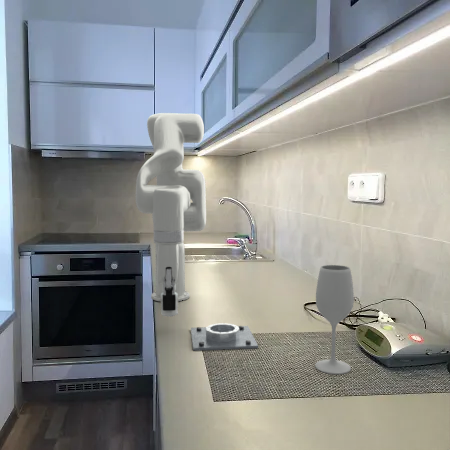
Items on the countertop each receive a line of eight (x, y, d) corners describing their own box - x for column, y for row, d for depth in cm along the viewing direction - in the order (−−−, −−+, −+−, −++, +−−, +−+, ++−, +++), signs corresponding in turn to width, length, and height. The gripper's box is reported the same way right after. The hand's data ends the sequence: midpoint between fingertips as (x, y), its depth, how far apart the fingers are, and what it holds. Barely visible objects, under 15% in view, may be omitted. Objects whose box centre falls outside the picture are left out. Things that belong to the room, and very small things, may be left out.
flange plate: (190, 329, 121) (190, 325, 120) (247, 328, 122) (247, 324, 122) (193, 350, 106) (193, 346, 106) (258, 348, 107) (258, 343, 107)
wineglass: (345, 360, 100) (348, 264, 98) (356, 374, 93) (359, 271, 91) (310, 360, 100) (312, 264, 98) (319, 374, 92) (321, 271, 91)
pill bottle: (169, 310, 122) (169, 281, 121) (181, 313, 119) (181, 284, 118) (157, 314, 119) (156, 284, 118) (169, 317, 116) (168, 287, 115)
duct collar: (205, 331, 117) (205, 323, 117) (236, 330, 118) (236, 322, 118) (207, 342, 109) (207, 334, 109) (241, 341, 110) (241, 332, 110)
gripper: (154, 231, 124) (155, 297, 127) (152, 242, 108) (153, 318, 110) (182, 231, 125) (183, 297, 128) (184, 242, 109) (184, 317, 111)
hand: (169, 306), depth 119 cm, fingers closed on pill bottle, 4 cm apart
